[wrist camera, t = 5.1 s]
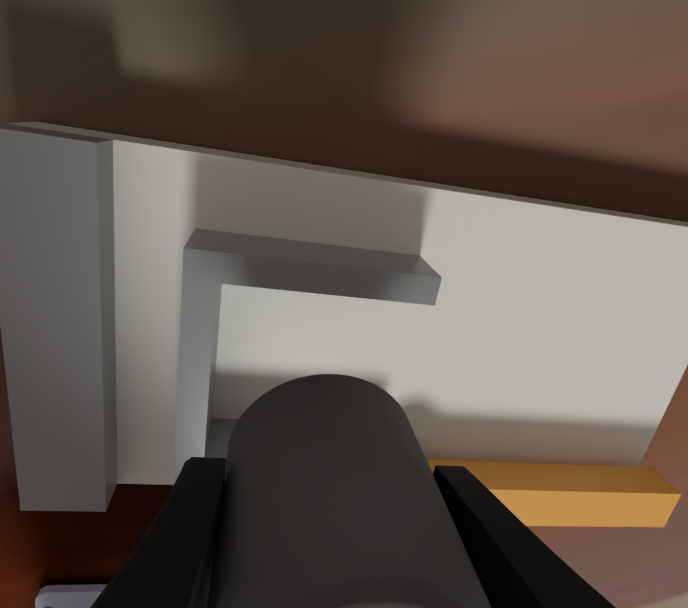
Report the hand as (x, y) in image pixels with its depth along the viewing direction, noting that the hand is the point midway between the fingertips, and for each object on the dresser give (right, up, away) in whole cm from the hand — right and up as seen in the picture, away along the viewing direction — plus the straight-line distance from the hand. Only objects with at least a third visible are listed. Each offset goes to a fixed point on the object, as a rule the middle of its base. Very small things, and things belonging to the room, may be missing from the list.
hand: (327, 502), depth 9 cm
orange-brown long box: (+7, -3, +9) cm, 11 cm away
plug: (0, +1, +1) cm, 1 cm away
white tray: (+2, +3, +8) cm, 8 cm away
